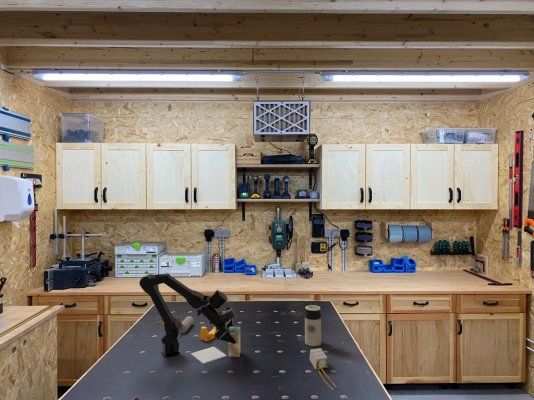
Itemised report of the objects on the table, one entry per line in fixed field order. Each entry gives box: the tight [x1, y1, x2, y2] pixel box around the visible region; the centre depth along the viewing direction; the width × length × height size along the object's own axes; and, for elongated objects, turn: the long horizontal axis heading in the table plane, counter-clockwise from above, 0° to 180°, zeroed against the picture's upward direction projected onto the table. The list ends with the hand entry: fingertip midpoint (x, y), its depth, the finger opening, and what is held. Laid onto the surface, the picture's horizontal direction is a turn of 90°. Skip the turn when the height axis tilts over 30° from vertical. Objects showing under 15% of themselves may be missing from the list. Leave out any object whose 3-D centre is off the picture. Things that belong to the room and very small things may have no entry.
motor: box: [157, 315, 194, 334], centre depth 193 cm, size 23×22×5 cm
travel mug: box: [304, 304, 322, 347], centre depth 172 cm, size 8×8×18 cm
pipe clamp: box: [200, 325, 217, 343], centre depth 181 cm, size 12×4×6 cm, turn 141°
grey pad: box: [190, 346, 227, 365], centre depth 159 cm, size 12×12×1 cm
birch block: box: [227, 326, 242, 358], centre depth 160 cm, size 5×5×12 cm
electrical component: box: [309, 347, 337, 390], centre depth 142 cm, size 24×6×5 cm, turn 16°
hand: (236, 338), depth 160 cm, fingers open, 9 cm apart
